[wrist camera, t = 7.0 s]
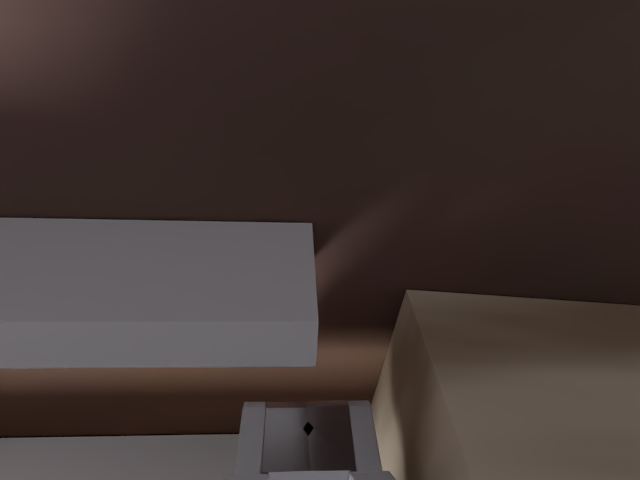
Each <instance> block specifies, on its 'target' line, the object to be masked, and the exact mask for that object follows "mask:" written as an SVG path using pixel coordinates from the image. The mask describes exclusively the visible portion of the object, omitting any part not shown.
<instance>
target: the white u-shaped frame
mask: <svg viewBox="0 0 640 480" xmlns="http://www.w3.org/2000/svg"><path fill="white" fill-rule="evenodd" d="M318 323H319V321H318V306H317V290H316V275H315V259H314V244H313V229H312V223H280V222H223V221H166V220H110V219H53V218H0V368H158V367H316V355H317V339H318ZM238 440H239V434H215V435H155V436H95V437H34V438H0V480H224V479H225V477H226V476H227V475H229V474H234V472H235V464H236V456H237V448H238Z"/></svg>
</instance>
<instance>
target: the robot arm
mask: <svg viewBox="0 0 640 480" xmlns="http://www.w3.org/2000/svg"><path fill="white" fill-rule="evenodd" d="M224 480H396V479H395V478H394V476H393V475H392V474H391V473H390V471H382V465H381V460H380V454H379V448H378V443H377V437H376V431H375V426H374V420H373V415H372V409H371V405H370V403H369V401H368V400H359V401H346V400H333V401H305V402H244V405H243V409H242V416H241V424H240V432H239V440H238V448H237V456H236V464H235V472H234V474H229V475H227V476H226V477H225V479H224Z"/></svg>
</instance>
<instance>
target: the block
mask: <svg viewBox="0 0 640 480" xmlns="http://www.w3.org/2000/svg"><path fill="white" fill-rule="evenodd" d="M371 409H372V415H373V420H374V426H375V431H376V437H377V443H378V448H379V454H380V460H381V465H382V471H390V473H391V474H392V475H393V476H394V478H395V479H396V480H640V305H625V304H610V303H596V302H581V301H567V300H552V299H537V298H523V297H508V296H493V295H479V294H464V293H449V292H435V291H420V290H406V292H405V295H404V298H403V302H402V305H401V308H400V311H399V315H398V318H397V321H396V325H395V328H394V331H393V334H392V338H391V341H390V344H389V348H388V351H387V354H386V357H385V361H384V364H383V367H382V370H381V374H380V377H379V380H378V384H377V387H376V390H375V393H374V397H373V400H372V403H371Z"/></svg>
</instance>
